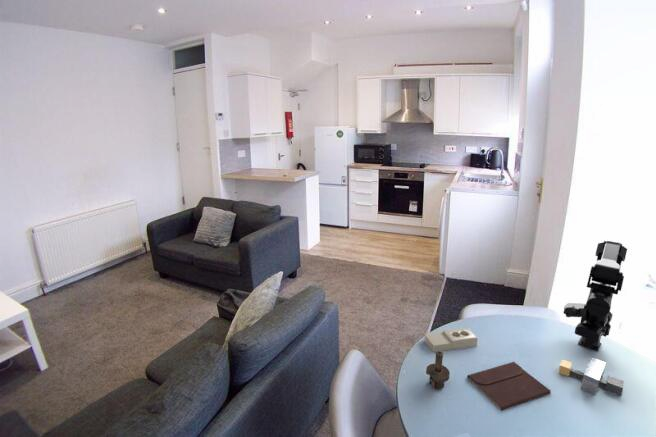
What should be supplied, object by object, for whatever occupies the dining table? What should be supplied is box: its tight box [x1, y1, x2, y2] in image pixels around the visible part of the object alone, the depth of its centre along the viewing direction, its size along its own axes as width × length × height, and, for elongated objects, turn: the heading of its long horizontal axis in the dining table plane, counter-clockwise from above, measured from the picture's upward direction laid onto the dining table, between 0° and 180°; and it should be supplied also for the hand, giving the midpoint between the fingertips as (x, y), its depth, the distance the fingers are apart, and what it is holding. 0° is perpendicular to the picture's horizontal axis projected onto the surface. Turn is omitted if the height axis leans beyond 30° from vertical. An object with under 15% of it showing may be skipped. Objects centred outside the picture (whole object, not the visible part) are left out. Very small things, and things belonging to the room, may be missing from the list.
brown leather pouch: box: [466, 361, 552, 411], centre depth 120 cm, size 15×20×2 cm
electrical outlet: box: [424, 327, 478, 353], centre depth 142 cm, size 7×4×18 cm
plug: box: [558, 359, 625, 397], centre depth 123 cm, size 4×17×3 cm, turn 51°
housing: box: [580, 356, 607, 396], centre depth 121 cm, size 12×4×6 cm, turn 136°
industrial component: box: [425, 351, 451, 390], centre depth 119 cm, size 9×7×12 cm
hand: (588, 346), depth 120 cm, fingers closed
